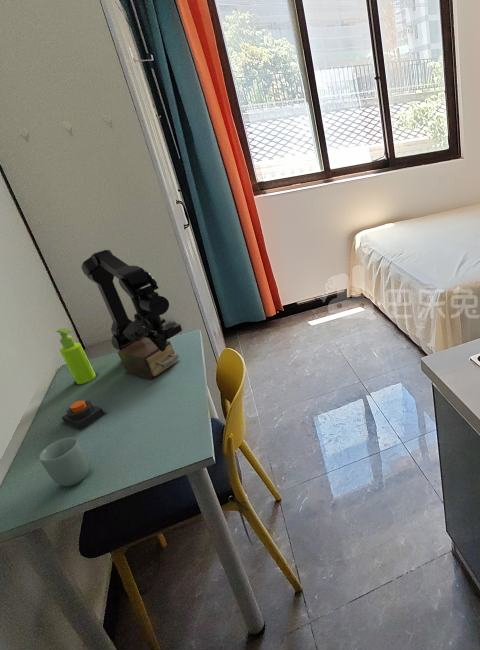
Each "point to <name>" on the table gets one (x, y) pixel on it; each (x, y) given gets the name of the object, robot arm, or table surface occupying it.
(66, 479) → the cup
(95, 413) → the control block
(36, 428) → the table surface
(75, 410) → the button
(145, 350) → the cabinet
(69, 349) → the soap dispenser
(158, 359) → the drawer
